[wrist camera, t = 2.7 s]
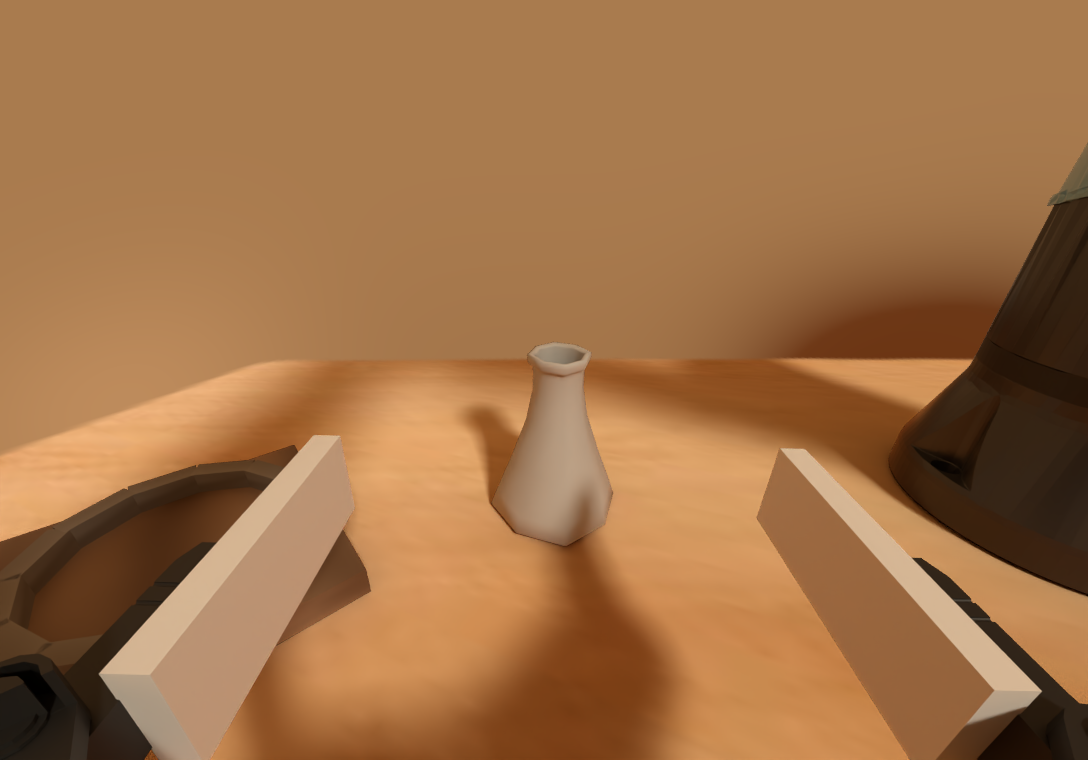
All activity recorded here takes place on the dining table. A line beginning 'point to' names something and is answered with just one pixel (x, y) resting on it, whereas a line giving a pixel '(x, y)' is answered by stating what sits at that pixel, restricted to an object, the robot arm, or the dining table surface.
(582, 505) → the flask
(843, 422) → the dining table surface
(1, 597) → the walnut seat board
